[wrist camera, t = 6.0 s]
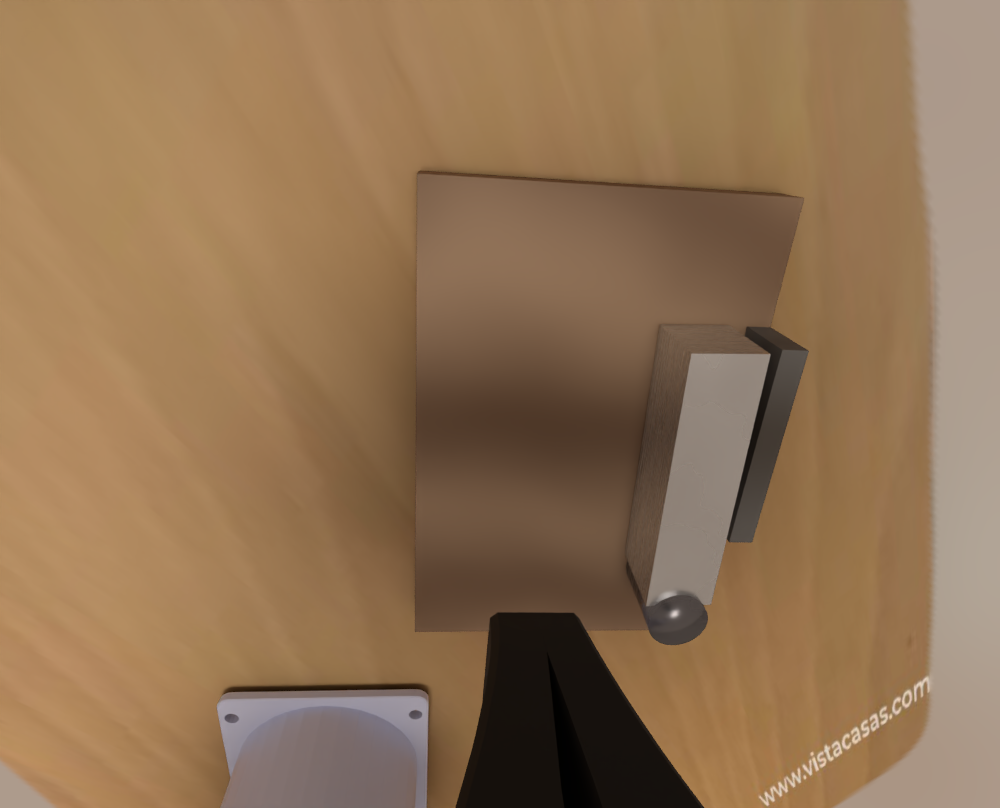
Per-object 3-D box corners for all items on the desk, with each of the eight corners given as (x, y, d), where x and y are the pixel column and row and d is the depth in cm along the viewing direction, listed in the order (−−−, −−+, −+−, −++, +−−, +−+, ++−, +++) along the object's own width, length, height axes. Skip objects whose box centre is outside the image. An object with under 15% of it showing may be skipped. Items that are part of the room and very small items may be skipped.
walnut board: (679, 605, 23) (712, 675, 20) (416, 606, 22) (411, 679, 19) (781, 193, 16) (851, 206, 13) (419, 170, 15) (412, 179, 13)
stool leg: (676, 585, 20) (705, 644, 18) (619, 586, 20) (641, 645, 18) (728, 325, 17) (774, 356, 14) (659, 324, 16) (694, 356, 14)
